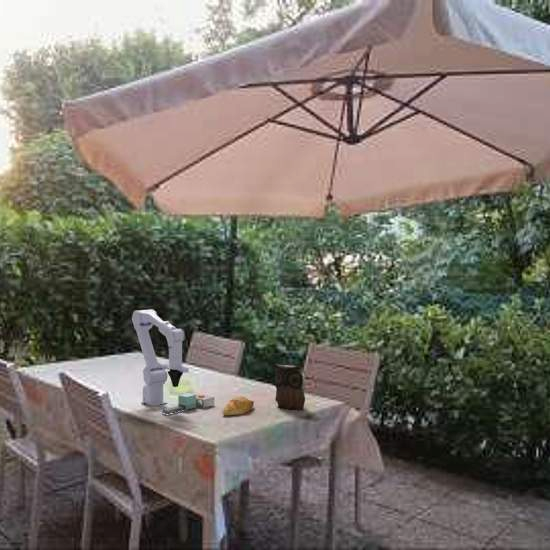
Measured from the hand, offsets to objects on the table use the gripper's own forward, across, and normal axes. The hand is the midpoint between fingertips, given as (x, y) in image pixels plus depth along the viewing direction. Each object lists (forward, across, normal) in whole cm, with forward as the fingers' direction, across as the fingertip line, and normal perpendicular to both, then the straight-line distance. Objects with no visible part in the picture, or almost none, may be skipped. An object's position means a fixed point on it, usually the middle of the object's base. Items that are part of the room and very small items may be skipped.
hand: (175, 386), depth 319 cm
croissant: (+11, +23, +16) cm, 30 cm away
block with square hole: (+10, +3, +14) cm, 17 cm away
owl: (+11, +37, +38) cm, 54 cm away
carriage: (+10, +3, +4) cm, 12 cm away
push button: (+10, +3, +13) cm, 17 cm away
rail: (+10, +3, 0) cm, 11 cm away
